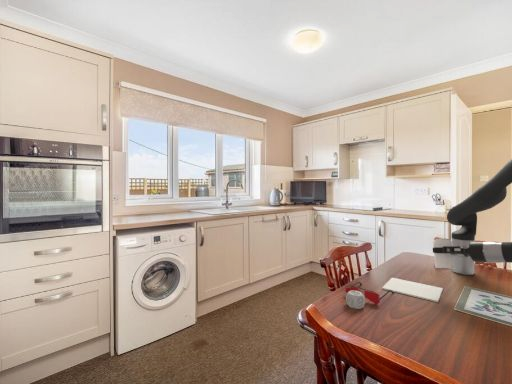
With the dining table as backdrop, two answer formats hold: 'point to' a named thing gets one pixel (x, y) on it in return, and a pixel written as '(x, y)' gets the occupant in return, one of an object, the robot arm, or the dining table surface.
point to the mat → (414, 289)
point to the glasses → (367, 293)
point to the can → (443, 254)
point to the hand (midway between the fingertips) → (436, 251)
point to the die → (355, 299)
